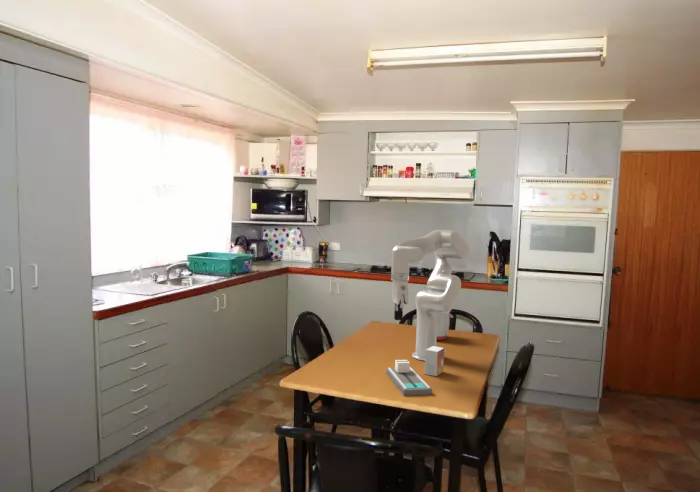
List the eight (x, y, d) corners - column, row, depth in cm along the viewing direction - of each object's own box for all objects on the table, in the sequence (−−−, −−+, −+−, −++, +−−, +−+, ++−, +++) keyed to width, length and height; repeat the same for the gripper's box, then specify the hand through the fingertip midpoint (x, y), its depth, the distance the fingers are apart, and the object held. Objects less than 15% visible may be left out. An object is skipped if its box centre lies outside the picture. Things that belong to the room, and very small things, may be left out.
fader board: (411, 372, 206) (411, 366, 206) (431, 394, 182) (432, 387, 182) (386, 373, 204) (386, 367, 204) (403, 395, 180) (403, 388, 180)
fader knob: (406, 369, 203) (406, 359, 203) (409, 372, 199) (409, 362, 199) (394, 369, 202) (395, 359, 202) (397, 372, 198) (397, 362, 198)
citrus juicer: (454, 342, 258) (456, 305, 256) (422, 341, 258) (423, 303, 257) (449, 335, 273) (451, 299, 272) (418, 334, 274) (419, 298, 272)
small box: (436, 376, 202) (437, 351, 201) (423, 374, 205) (425, 349, 204) (443, 371, 209) (444, 347, 208) (431, 369, 212) (432, 345, 211)
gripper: (414, 279, 199) (412, 323, 201) (403, 274, 214) (401, 316, 215) (396, 279, 198) (394, 323, 199) (386, 274, 213) (385, 316, 214)
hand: (398, 319), depth 207 cm, fingers closed
